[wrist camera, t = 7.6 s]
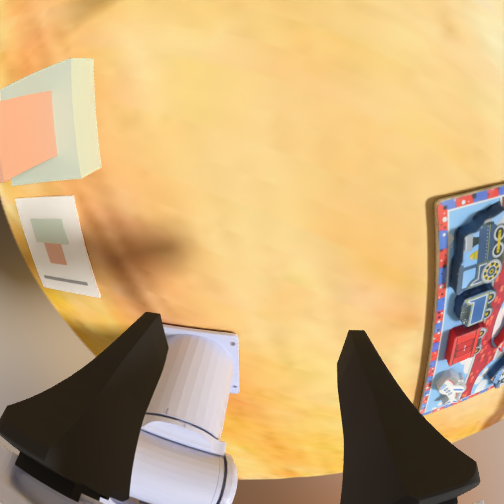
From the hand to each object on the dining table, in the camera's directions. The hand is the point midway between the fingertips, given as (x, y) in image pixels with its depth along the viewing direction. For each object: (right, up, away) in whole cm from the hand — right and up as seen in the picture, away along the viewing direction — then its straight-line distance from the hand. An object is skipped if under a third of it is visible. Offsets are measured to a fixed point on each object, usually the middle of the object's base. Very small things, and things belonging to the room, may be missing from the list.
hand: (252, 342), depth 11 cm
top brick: (-15, +12, +3) cm, 19 cm away
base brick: (-14, +13, +6) cm, 21 cm away
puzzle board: (+28, -2, +11) cm, 30 cm away
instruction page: (-18, +4, +12) cm, 22 cm away
